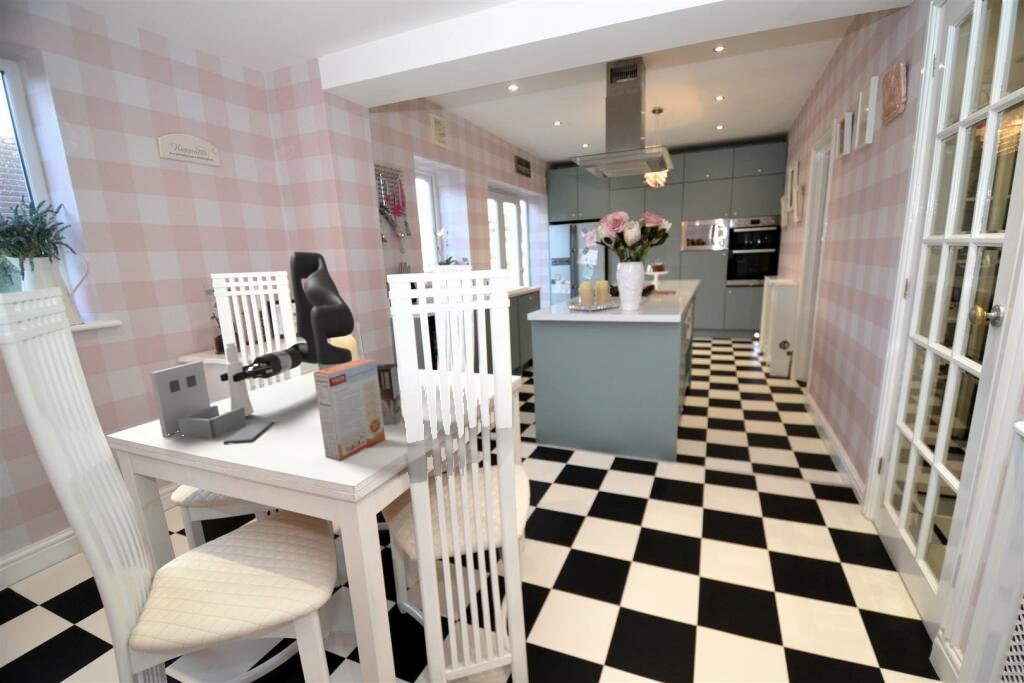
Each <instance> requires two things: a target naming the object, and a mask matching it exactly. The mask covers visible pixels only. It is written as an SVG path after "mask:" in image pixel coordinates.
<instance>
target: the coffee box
mask: <svg viewBox="0 0 1024 683" xmlns="http://www.w3.org/2000/svg"><path fill="white" fill-rule="evenodd" d="M397 365H398V364H397V363H384V364H383V363H381V364H377V372H378V381H379V389H380V398H381V406H382V415H383V424H384V426H385V425H398V424H399V422H400V421H401V420H402V419H403V412H402V411H403V410H402V402H401V393H400V384H399V381H400V380H399V373H398V372H399V371H398V366H397Z"/></svg>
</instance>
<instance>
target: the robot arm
mask: <svg viewBox="0 0 1024 683" xmlns="http://www.w3.org/2000/svg"><path fill="white" fill-rule="evenodd" d="M289 260H290V261H289V267H290V268H289V269H290V271H289V272H290V279H291V286H292V287H291V288H292V293H293V294H292V295H293V300H294V305H295V313H296V314H295V315H296V334H297V336H298V337H299V338H302V339H303V340H305V342H298V343H297V342H296V343H295V344H293V345H291V346H290V347H288V348H286V349H283V350H277V351H273V352H269V353H266V354H262V355H258V356H257V357H255V358H254V360H253V362H251V363H246V365H242V369H243V372H240V373H237V374H234V375H233V381H234V382H238V381H241V380H244V379H245V380H250V379H253V380H256V379H259V378H260V379H266V380H267V379H269V378H272V377H275V376H278V375H281V374H284V373H285V372H287V371H290V370H292V369H293V370H294V369H295V368H297V367H299V366H300V365H301V364H302V363H306V364H311V365H312V364H313V365H317V368H318V370H317V371H319V370H323V369H327V368H330V367H334V366H338V365H341V364H345V363H348V362H352V361H353V357H352V356H353V355H352V350H350V349H349V348H346V347H345V348H344V347H340V346H336V345H333V344H332V343H329V342H328V339H334V338H343V337H347V336H350V335H351V334H352V333H353V332H354V329H355V319H354V316H353V313H352V310H351V308H350V307H349V305H348V304H347V303H346V302H345V299H344V298H342V296H341V294H340V292H339V290H338V287H337V285H336V284H335V281H334V280H333V278H332V277H331V274H330V272H329V269H328V265H327V263H326V261H325V260H326V259H325V257H324V256H323V254H321V253H320V252H310V251H293V252H292V253H291V254H290V259H289ZM302 280H305V281H304V284H303V282H302ZM219 376H220V378H219V379H220V382H227V381H228V373H227V372H225V373H221V374H220V375H219Z"/></svg>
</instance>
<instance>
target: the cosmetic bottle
mask: <svg viewBox="0 0 1024 683" xmlns="http://www.w3.org/2000/svg"><path fill="white" fill-rule="evenodd" d="M225 352H226V359H227V363H226V371H227V372H226V373H228V380H227V381H228V389H229V398H230V411H232V410H234V409H237V408H239V407H244V411H245V417H247V416H250V415H253V413H255V411H254V408H253V405H252V403H251V399H250V396H249V392H248V389H247V384H246V379H244V380H241V381H238V382H234V381H233V375H234V374H237V373H240V372H243V369H242V366H243V365H242V362H241V361H240V360H239V355H238V348H237V345H235V341H233V342H226V343H225Z"/></svg>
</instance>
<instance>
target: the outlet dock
mask: <svg viewBox="0 0 1024 683" xmlns="http://www.w3.org/2000/svg"><path fill="white" fill-rule="evenodd" d="M150 380H151V384H152V389H153V393H154V398H155V400H154V401H155V404H156V410H157V414H158V420H159V424H160V425H159V426H160V429H161V435H162V436H163V435H168V434H172V433H174V434H176V433H175V432H177V431H179V432H180V436H181V435H184V436H183V437H186V436H194V437H193V438H199V437H204V438H203V439H211V438H212V439H214V437H215V438H216V436H217V437H219V436H222V435H223V433H224V434H226V433H228V432H231V431H233V430H236V429H237V427H238V428H240V427H243V426H245V425H247V424H248V422H247V418H246V417H247V416H245V411H244V407H239V408H237V409H234V410H232V411H231V410H229V411H227V412H223V413H221V414H220V412H219V406H218V405H212V406H211V403H210V398H209V391H208V387H207V386H208V385H207V384H208V383H207V378H206V374H205V366H204V362H203V360H197V361H196V360H195V361H192V362H188V363H185V364H180V365H177V366H172V367H168V368H166V369H165V368H164V369H160V370H157V371H156V370H155V371H152V372H150ZM230 430H231V431H230ZM225 432H226V433H225ZM177 433H178V432H177ZM221 434H222V435H221ZM172 435H173V434H172Z"/></svg>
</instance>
